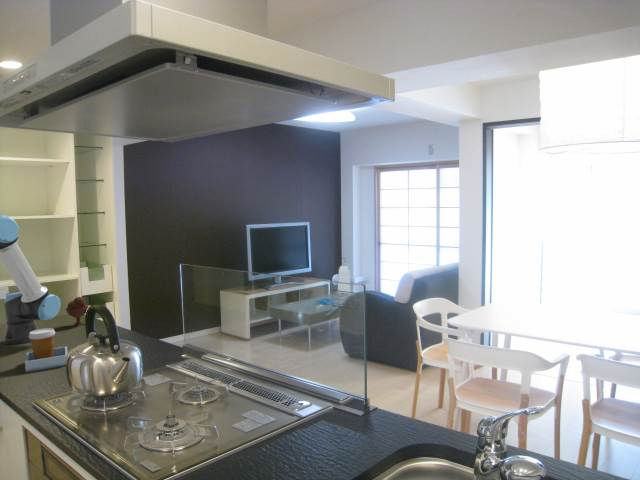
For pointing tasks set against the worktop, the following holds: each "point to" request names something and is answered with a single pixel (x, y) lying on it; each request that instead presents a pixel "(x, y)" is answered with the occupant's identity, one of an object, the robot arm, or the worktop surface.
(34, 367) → the tote
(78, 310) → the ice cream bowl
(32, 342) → the disposable coffee cup
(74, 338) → the worktop surface
